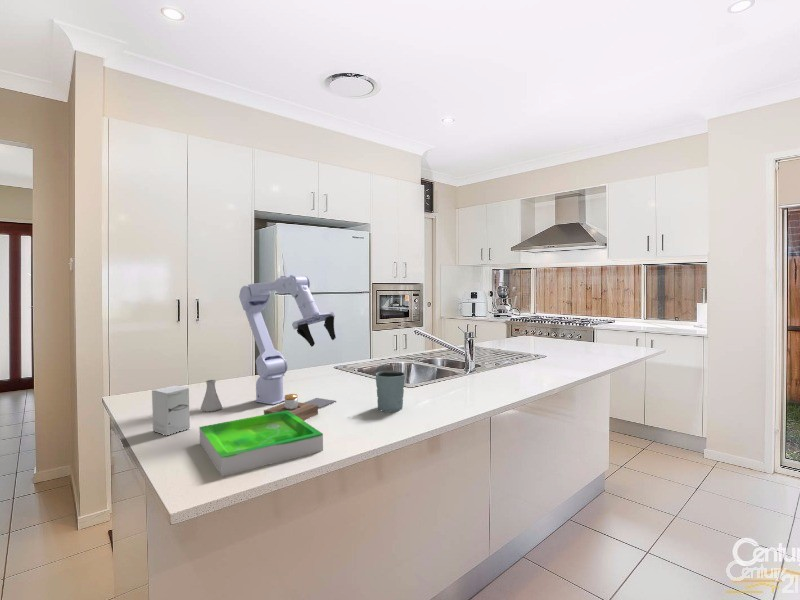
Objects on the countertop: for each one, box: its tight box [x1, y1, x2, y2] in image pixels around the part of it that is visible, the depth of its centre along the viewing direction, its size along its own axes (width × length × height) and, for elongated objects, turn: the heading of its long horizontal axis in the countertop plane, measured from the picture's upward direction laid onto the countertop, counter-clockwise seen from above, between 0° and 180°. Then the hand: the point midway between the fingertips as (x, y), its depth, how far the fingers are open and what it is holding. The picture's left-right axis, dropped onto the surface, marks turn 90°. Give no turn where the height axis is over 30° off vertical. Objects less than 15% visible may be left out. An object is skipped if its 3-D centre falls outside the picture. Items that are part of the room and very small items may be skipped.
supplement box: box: [151, 385, 191, 437], centre depth 128 cm, size 7×7×13 cm
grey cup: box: [375, 370, 406, 413], centre depth 149 cm, size 10×10×12 cm
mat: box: [303, 397, 337, 409], centre depth 156 cm, size 9×9×1 cm
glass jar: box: [284, 393, 299, 411], centre depth 140 cm, size 4×4×7 cm
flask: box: [200, 379, 224, 413], centre depth 150 cm, size 7×7×10 cm
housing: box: [263, 401, 319, 421], centre depth 141 cm, size 12×12×3 cm
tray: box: [198, 410, 324, 477], centre depth 116 cm, size 25×25×5 cm
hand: (323, 341), depth 141 cm, fingers open, 7 cm apart
